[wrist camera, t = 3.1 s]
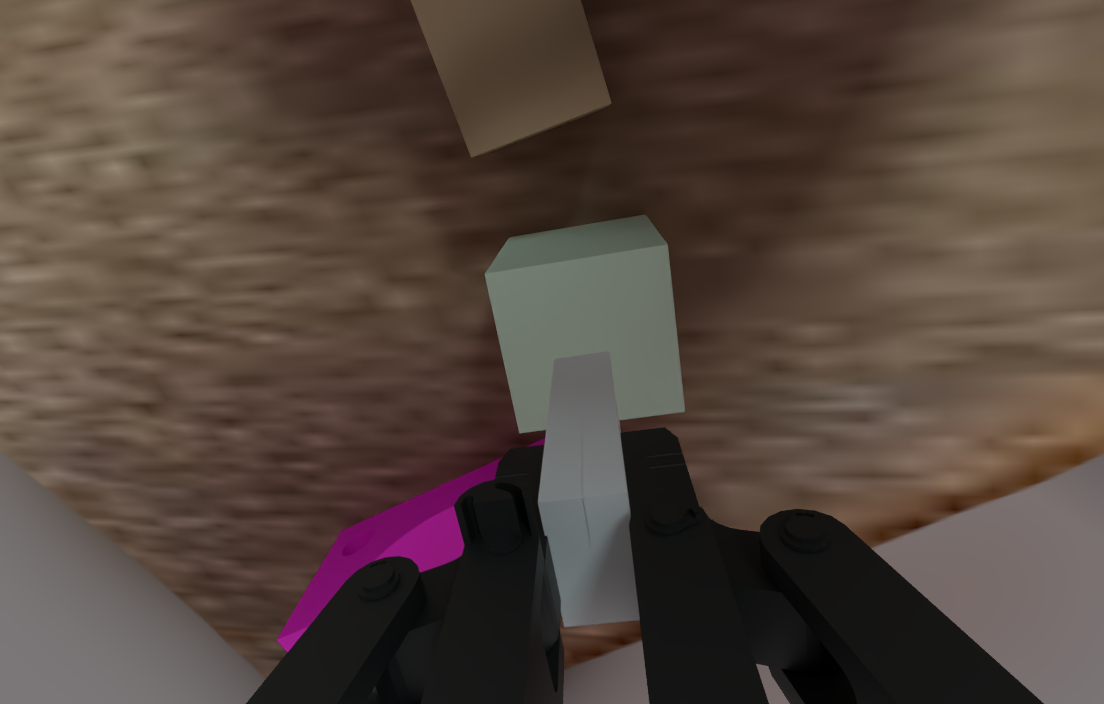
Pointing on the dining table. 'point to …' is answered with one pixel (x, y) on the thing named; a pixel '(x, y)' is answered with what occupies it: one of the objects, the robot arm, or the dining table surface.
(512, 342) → the sage block
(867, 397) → the dining table surface
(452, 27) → the walnut block
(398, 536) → the toy block
